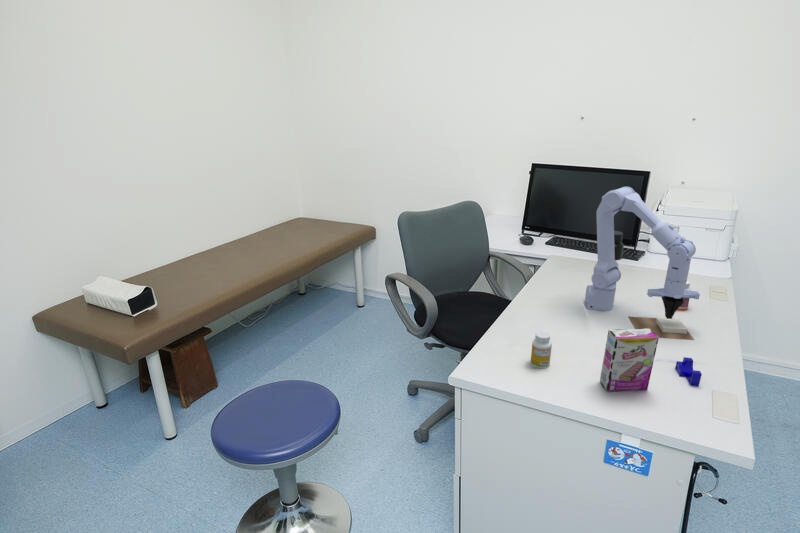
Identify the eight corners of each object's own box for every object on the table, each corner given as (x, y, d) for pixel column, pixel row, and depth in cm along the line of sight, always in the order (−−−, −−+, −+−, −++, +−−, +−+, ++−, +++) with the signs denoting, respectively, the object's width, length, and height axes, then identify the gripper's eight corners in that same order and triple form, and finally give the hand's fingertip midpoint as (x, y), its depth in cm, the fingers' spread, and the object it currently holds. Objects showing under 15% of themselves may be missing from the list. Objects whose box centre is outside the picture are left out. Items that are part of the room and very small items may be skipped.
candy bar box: (607, 392, 121) (616, 338, 116) (599, 381, 126) (607, 328, 120) (649, 391, 122) (660, 336, 116) (639, 380, 126) (649, 327, 121)
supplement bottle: (535, 356, 139) (537, 328, 135) (552, 362, 135) (555, 333, 132) (527, 364, 135) (529, 335, 131) (545, 370, 132) (548, 341, 128)
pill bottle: (690, 310, 164) (696, 282, 160) (681, 315, 161) (687, 286, 157) (672, 304, 169) (678, 276, 165) (663, 308, 166) (669, 280, 162)
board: (638, 339, 147) (639, 336, 146) (627, 318, 159) (627, 316, 159) (694, 342, 144) (694, 340, 143) (677, 321, 156) (678, 319, 156)
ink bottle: (607, 252, 223) (611, 228, 219) (625, 256, 217) (629, 232, 213) (597, 257, 218) (600, 232, 213) (615, 261, 211) (619, 236, 207)
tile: (663, 327, 147) (687, 329, 146) (656, 317, 154) (679, 319, 152) (662, 332, 148) (686, 334, 147) (655, 322, 154) (678, 323, 153)
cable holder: (674, 368, 131) (677, 356, 130) (688, 370, 130) (691, 358, 129) (684, 385, 124) (687, 372, 123) (698, 386, 123) (701, 374, 122)
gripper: (655, 282, 142) (647, 321, 147) (707, 284, 139) (697, 324, 144) (648, 274, 149) (641, 311, 154) (697, 276, 146) (689, 314, 151)
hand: (668, 317), depth 149 cm, fingers closed
